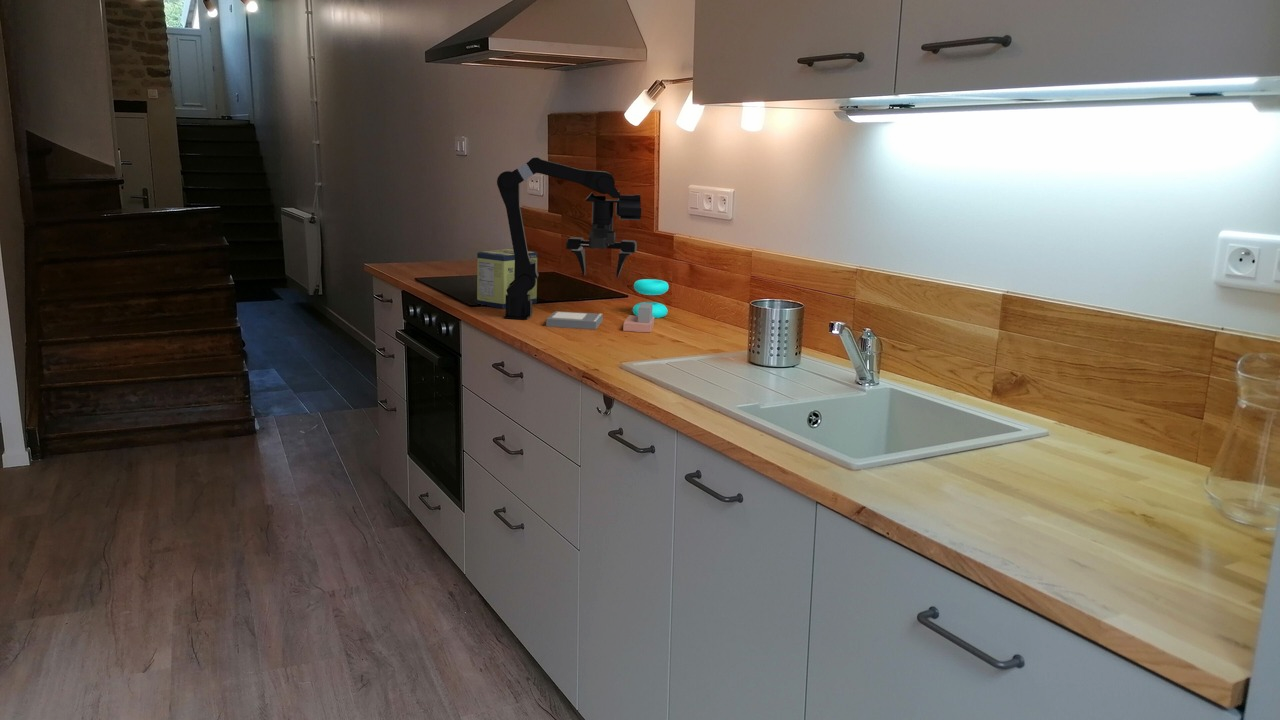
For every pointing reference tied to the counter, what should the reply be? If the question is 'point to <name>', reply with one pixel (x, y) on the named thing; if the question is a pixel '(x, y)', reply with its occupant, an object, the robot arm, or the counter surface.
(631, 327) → the pink and grey block
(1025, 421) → the counter surface
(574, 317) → the grey flat box
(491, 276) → the protein box
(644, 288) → the donuts
